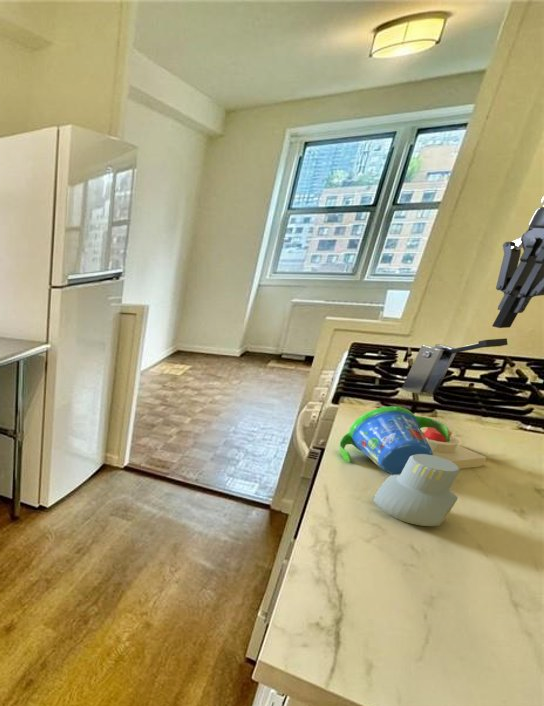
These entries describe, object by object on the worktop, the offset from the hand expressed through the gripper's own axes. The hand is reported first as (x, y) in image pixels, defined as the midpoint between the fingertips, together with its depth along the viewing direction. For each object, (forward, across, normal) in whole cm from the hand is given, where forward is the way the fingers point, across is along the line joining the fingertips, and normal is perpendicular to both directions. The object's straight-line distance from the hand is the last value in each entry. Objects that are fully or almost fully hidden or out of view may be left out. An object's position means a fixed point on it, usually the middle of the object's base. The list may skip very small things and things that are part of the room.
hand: (501, 326), depth 105 cm
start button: (+17, +17, -28) cm, 36 cm away
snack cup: (+16, +23, -42) cm, 51 cm away
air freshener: (+20, +33, -52) cm, 64 cm away
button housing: (+20, +17, -28) cm, 38 cm away
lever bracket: (+20, -9, 0) cm, 22 cm away
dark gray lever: (+8, -4, 0) cm, 9 cm away
